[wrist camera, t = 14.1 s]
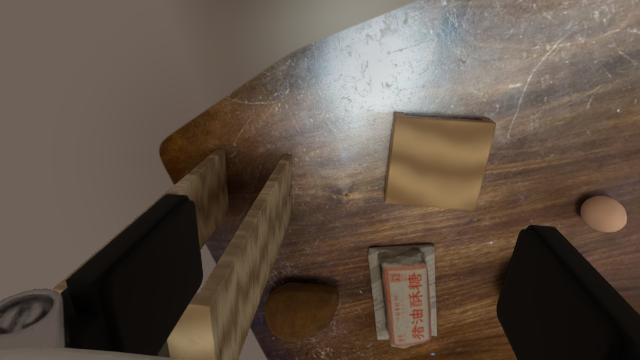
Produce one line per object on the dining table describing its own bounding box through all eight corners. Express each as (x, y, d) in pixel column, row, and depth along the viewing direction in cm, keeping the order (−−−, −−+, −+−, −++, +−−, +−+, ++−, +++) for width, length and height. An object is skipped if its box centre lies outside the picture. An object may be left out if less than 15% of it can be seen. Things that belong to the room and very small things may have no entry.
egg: (571, 194, 48) (596, 214, 43) (607, 185, 47) (637, 205, 42) (574, 221, 50) (598, 244, 45) (609, 213, 49) (639, 236, 44)
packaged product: (367, 264, 51) (439, 260, 49) (366, 245, 55) (432, 241, 54) (378, 356, 57) (441, 355, 56) (376, 332, 62) (435, 331, 60)
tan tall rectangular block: (216, 148, 51) (51, 289, 24) (291, 154, 50) (209, 306, 23) (221, 209, 55) (84, 389, 28) (291, 215, 54) (220, 408, 27)
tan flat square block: (394, 111, 46) (396, 116, 44) (488, 117, 46) (496, 123, 43) (383, 193, 51) (384, 203, 49) (468, 200, 50) (475, 210, 48)
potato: (341, 314, 61) (338, 358, 53) (273, 312, 63) (260, 354, 55) (339, 275, 58) (335, 314, 50) (268, 273, 59) (253, 311, 51)
